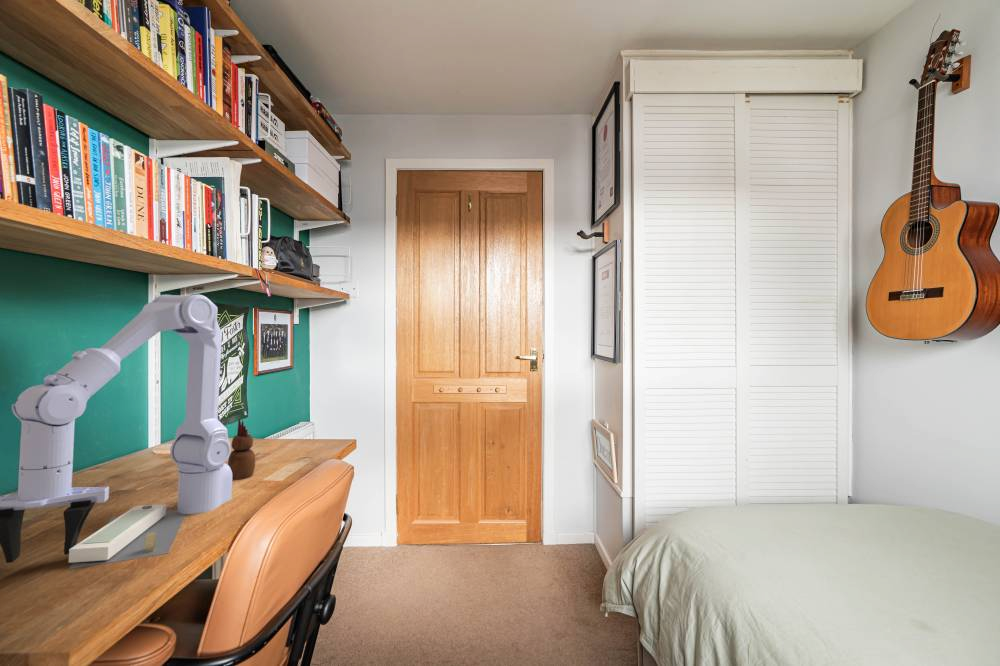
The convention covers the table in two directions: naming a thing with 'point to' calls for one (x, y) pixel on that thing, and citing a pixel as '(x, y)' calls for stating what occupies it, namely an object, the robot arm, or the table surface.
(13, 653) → the table surface
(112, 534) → the frame
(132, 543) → the board
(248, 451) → the wooden figurine
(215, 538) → the table surface
